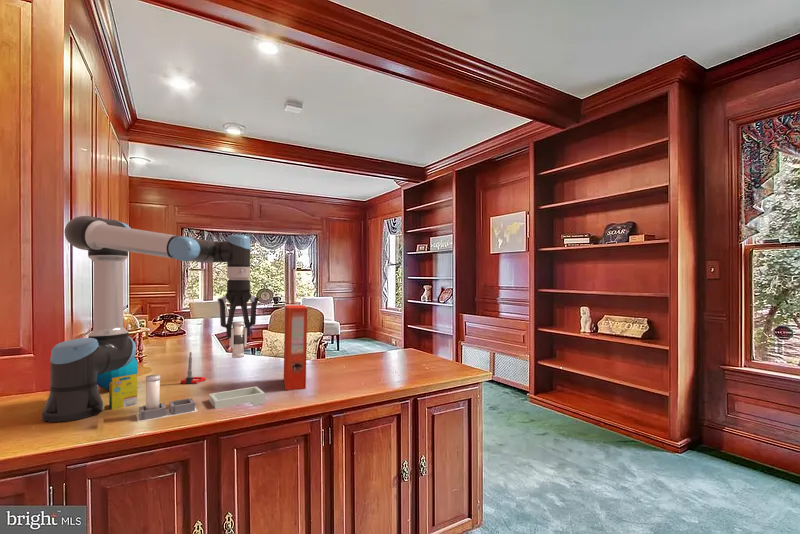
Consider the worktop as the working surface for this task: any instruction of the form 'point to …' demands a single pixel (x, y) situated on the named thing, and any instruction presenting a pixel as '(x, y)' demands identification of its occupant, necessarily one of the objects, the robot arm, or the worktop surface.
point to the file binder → (295, 347)
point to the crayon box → (123, 392)
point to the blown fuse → (238, 340)
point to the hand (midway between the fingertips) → (238, 346)
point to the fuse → (152, 392)
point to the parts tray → (237, 397)
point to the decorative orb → (117, 374)
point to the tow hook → (189, 378)
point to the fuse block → (167, 410)
